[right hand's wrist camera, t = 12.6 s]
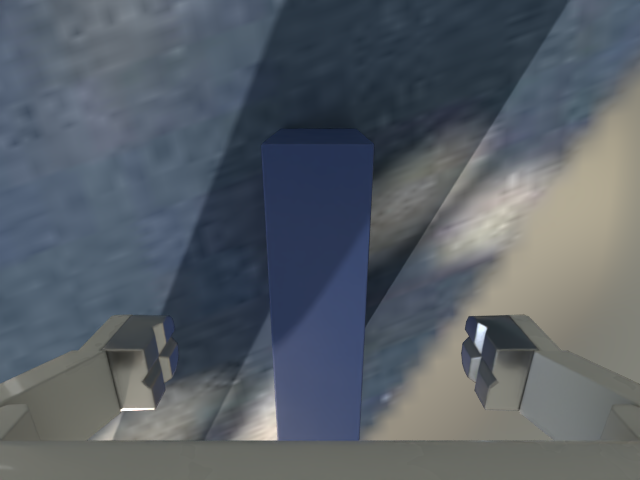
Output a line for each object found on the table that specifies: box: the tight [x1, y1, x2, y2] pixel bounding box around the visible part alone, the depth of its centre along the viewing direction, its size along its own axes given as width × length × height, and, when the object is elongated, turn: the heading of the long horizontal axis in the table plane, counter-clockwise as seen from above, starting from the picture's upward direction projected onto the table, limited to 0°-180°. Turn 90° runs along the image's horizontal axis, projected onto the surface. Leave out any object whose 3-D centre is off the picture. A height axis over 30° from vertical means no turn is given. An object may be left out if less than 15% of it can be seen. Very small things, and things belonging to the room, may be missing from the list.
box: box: [261, 129, 374, 441], centre depth 28 cm, size 22×6×10 cm, turn 0°
